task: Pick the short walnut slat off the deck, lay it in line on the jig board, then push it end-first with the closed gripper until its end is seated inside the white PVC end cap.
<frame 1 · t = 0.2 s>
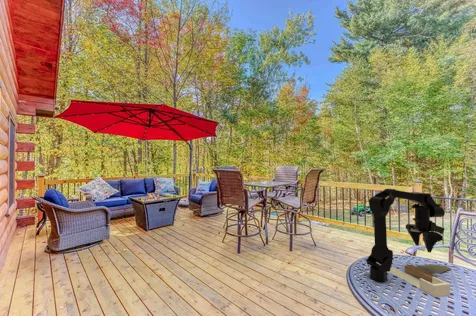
hand: (423, 248, 106), 13 cm above the table, fingers open, 9 cm apart
slat: (420, 280, 102), on the table
jig board: (411, 281, 100), on the table
stone slab: (430, 271, 112), on the table
end cap: (434, 291, 90), resting on jig board
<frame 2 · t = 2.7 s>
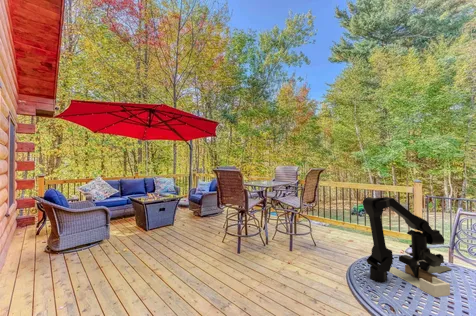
hand: (420, 277, 102), 1 cm above the table, fingers closed on slat, 4 cm apart
slat: (420, 279, 102), on the table, touching gripper
everything else where it was.
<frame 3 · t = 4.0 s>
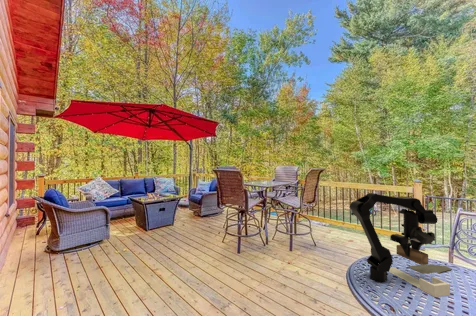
hand: (411, 256, 101), 12 cm above the table, fingers closed on slat, 4 cm apart
slat: (411, 258, 101), point 10 cm above the table, touching gripper
everything else where it was.
when the fingers open (3 cm above the table, at t = 5.7 s): slat drops 1 cm, resting on jig board.
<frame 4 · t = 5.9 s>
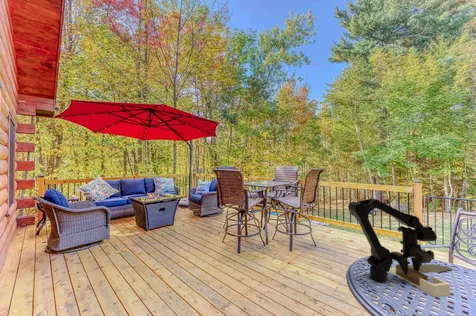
hand: (411, 273, 100), 3 cm above the table, fingers open, 6 cm apart
slat: (411, 279, 100), point 1 cm above the table, touching jig board
everything else where it was.
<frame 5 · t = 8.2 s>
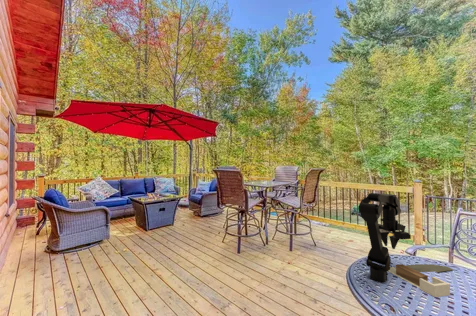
hand: (389, 247, 112), 12 cm above the table, fingers open, 4 cm apart
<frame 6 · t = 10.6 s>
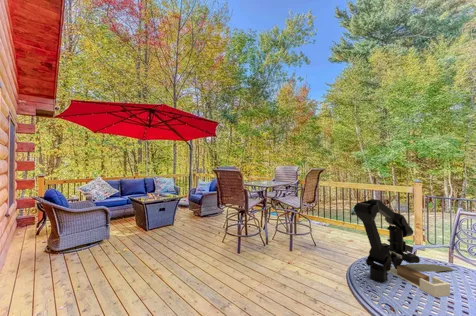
hand: (397, 269, 107), 2 cm above the table, fingers closed
slat: (412, 280, 100), point 1 cm above the table, touching gripper
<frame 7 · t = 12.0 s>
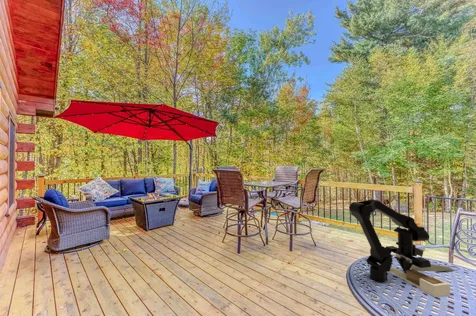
hand: (406, 273, 103), 2 cm above the table, fingers closed
slat: (423, 285, 95), point 1 cm above the table, touching gripper, jig board
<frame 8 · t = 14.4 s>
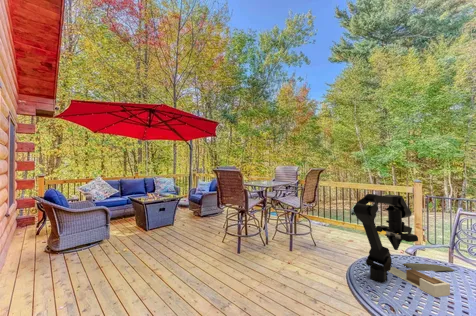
hand: (395, 249, 108), 12 cm above the table, fingers closed
slat: (423, 285, 95), point 1 cm above the table, touching jig board
at the end: slat 0.8 cm from the target spot, point 0.8 cm above the table; slat tilted 0°; the gripper is holding nothing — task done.
